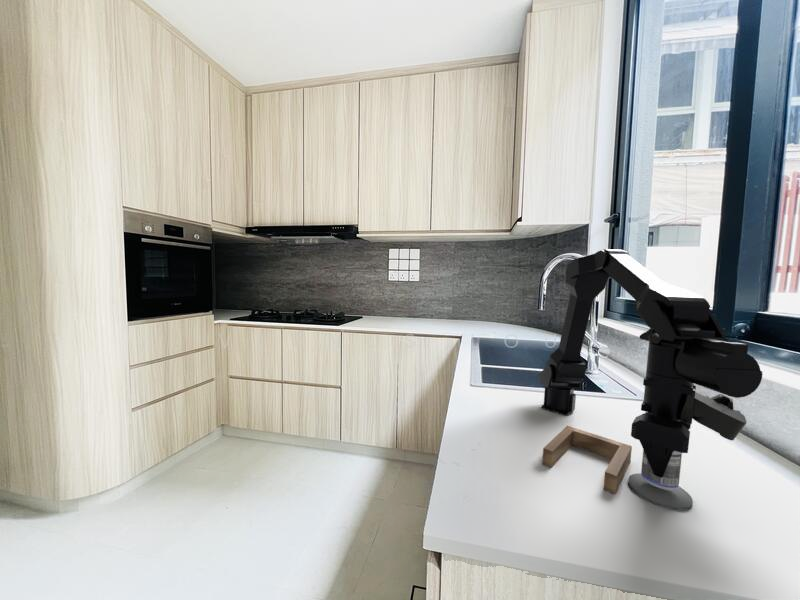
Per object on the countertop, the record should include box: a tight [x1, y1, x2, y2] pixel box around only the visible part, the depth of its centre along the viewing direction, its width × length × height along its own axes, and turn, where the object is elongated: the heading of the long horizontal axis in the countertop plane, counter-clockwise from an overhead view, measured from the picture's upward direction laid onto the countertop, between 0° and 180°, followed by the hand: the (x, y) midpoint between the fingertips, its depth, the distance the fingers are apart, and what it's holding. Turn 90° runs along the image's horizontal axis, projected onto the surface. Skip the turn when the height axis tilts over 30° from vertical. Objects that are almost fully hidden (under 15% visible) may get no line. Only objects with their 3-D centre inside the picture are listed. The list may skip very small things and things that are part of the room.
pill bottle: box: [640, 449, 683, 491], centre depth 51 cm, size 5×5×8 cm
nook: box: [541, 425, 633, 495], centre depth 59 cm, size 11×14×3 cm
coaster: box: [627, 473, 693, 511], centre depth 51 cm, size 8×8×1 cm
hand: (660, 469), depth 51 cm, fingers closed on pill bottle, 5 cm apart
